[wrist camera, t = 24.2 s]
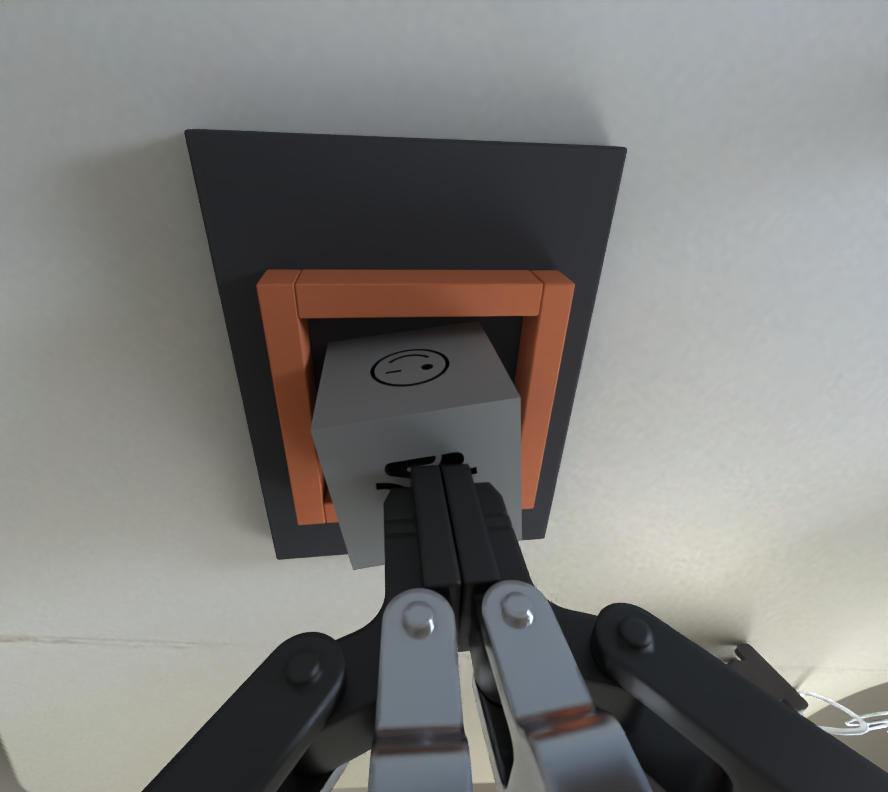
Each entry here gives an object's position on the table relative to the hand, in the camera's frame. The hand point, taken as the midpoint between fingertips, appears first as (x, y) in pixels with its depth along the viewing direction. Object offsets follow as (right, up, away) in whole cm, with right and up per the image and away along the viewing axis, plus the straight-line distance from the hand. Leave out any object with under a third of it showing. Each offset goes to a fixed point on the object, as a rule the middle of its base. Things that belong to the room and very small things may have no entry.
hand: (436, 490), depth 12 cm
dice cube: (-1, +3, +4) cm, 5 cm away
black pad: (-1, +3, +5) cm, 6 cm away
